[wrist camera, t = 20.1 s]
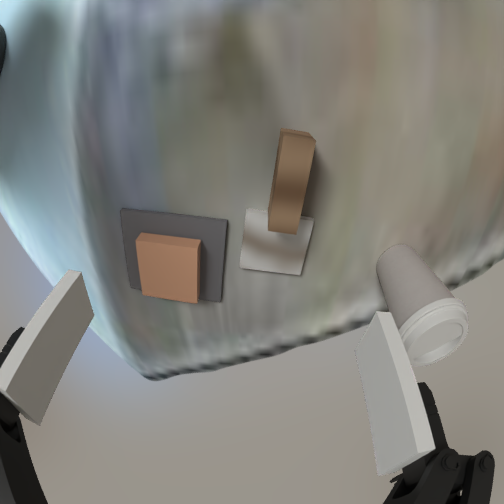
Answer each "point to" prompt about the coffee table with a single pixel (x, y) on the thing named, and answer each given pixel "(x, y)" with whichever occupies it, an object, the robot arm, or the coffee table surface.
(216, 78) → the coffee table surface
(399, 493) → the robot arm
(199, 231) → the mat
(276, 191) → the tapered wooden block
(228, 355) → the coffee table surface
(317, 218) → the coffee table surface
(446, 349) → the coffee cup
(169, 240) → the tile
